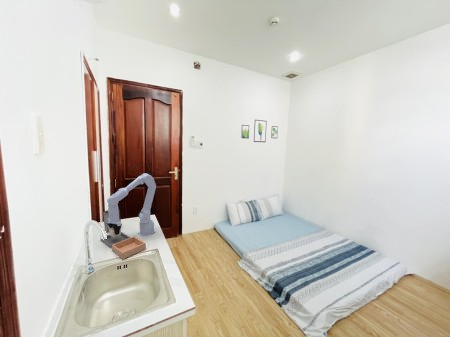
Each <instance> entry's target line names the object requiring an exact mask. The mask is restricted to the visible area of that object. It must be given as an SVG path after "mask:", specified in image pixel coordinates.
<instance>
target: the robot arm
mask: <svg viewBox="0 0 450 337" xmlns="http://www.w3.org/2000/svg"><path fill="white" fill-rule="evenodd" d="M144 184H145V185H146V186H147V190H146V191H147V192H146V195H145V199H144V203H143V207H142V209H141V210H140V212H139V213H138V219H140V221H139V222H138V223H139V232H138V233H137V234H138V235H139V236H141V237H143V238H144V237H146V236H149V235H151V234H154V233H156V231H155V221H153V220H152V219H151V208H152V204H153V200H154V196H155V192H156V189H157V184H156V182H155V178H154V177H153V176H152V175H151V174H149V173H145V172H144V173H142V174H141V175H139V176H137V178H135V179H134V180H133V181H131V182H130V183H129V184H128V185H127V186H126V187H121V188H119V189H118V190H117V191H116V192H115V193H112V194H111V195H110V196H108V198H107V200H106V201H107V204H108V205H107V207H108V208H107V210H108V212H109V218H108V222H107V224H108V225H109V227H110V228H112V227H113V229H114V232H115V235H118V234H119V232H120V228H121V229H122V226H123V223H122V221H121V222H120V219H121V218H120V219H119V211H118V209H119V205H118V204H119V201H121V200H123V199H124V198H125V197H127V196H128V195H129V192H130V191H131V190H133V189H134V188H136V187H137V186H139V185H144Z"/></svg>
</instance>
